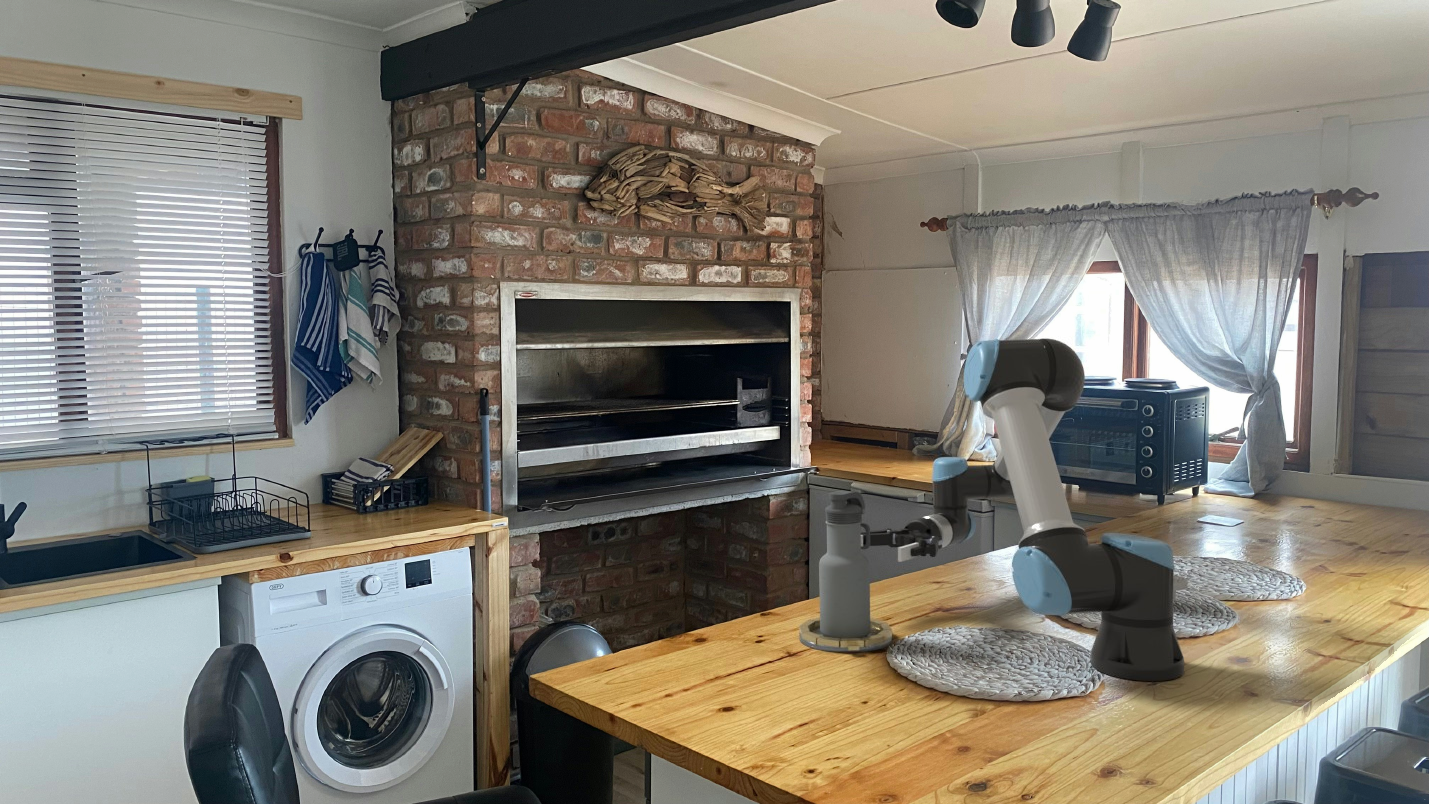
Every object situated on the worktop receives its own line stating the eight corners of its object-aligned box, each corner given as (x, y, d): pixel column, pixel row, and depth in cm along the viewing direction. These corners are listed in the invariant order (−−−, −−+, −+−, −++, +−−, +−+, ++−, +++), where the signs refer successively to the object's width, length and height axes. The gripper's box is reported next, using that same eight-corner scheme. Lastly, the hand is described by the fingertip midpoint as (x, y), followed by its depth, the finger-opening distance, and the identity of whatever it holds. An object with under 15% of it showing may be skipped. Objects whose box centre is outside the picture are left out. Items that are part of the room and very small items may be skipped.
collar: (902, 654, 189) (902, 642, 189) (805, 657, 188) (805, 645, 188) (881, 622, 210) (880, 611, 210) (794, 624, 210) (794, 614, 210)
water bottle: (838, 624, 206) (836, 487, 205) (880, 631, 200) (878, 490, 198) (810, 635, 198) (807, 493, 197) (853, 644, 192) (851, 497, 191)
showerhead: (1132, 569, 222) (1181, 570, 220) (1132, 601, 222) (1181, 603, 220) (1141, 579, 212) (1192, 580, 210) (1141, 613, 213) (1192, 614, 211)
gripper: (979, 559, 212) (924, 577, 196) (879, 544, 229) (821, 560, 213) (979, 523, 211) (924, 539, 196) (878, 511, 228) (821, 525, 213)
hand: (870, 550), depth 205 cm, fingers open, 13 cm apart
